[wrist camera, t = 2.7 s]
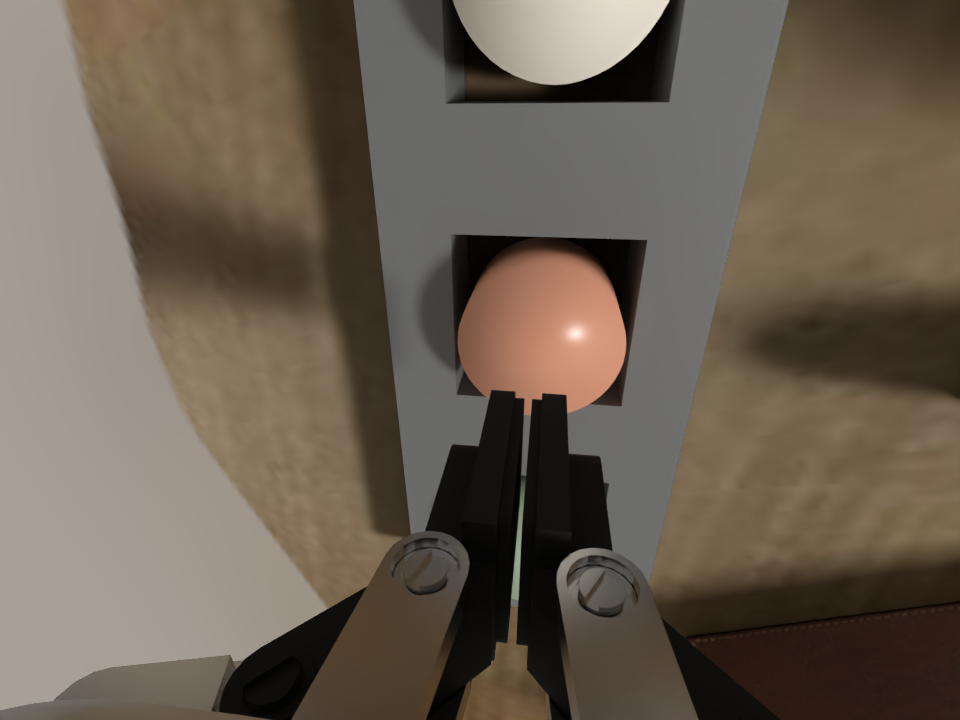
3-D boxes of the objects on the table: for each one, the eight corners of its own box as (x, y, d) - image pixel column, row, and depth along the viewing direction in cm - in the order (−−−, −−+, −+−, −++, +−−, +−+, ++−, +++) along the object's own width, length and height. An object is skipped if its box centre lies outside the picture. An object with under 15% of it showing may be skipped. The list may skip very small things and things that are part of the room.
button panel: (368, -262, 12) (314, -360, 9) (812, -309, 11) (893, -438, 8) (432, 542, 25) (417, 594, 23) (630, 564, 24) (639, 622, 22)
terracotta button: (472, 234, 16) (454, 263, 13) (624, 239, 15) (637, 270, 13) (474, 364, 18) (459, 410, 16) (606, 372, 18) (615, 422, 15)
